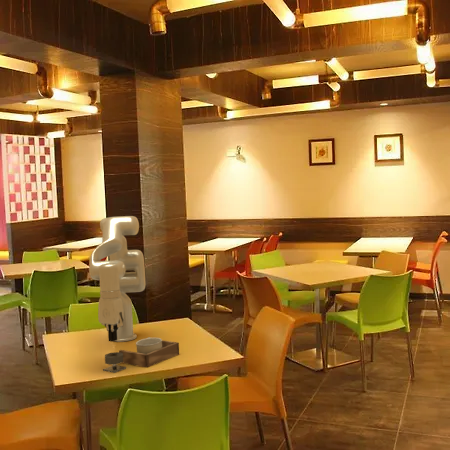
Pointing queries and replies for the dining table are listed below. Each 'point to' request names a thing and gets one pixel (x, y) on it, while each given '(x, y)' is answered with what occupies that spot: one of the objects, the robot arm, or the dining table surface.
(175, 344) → the bay
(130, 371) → the dining table surface
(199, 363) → the dining table surface
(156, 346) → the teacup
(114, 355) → the wheel
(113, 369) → the axle mount
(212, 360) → the dining table surface
